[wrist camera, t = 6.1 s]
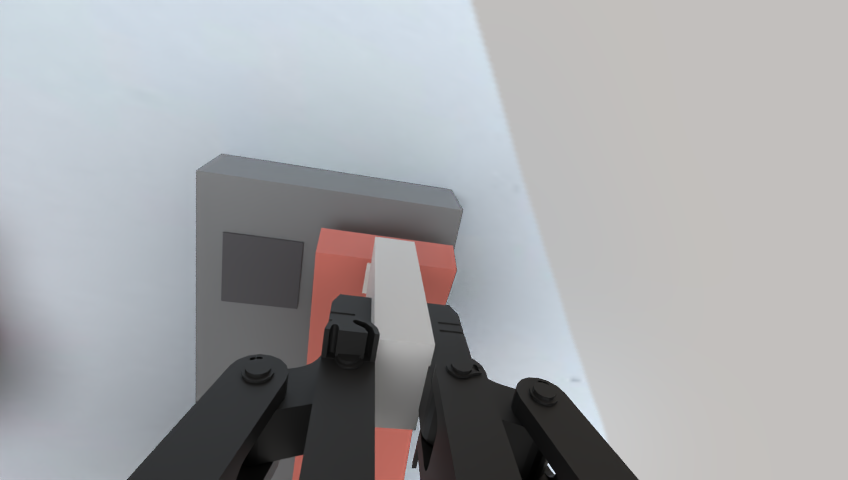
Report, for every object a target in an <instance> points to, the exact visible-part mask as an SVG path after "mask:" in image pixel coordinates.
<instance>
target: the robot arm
mask: <svg viewBox="0 0 848 480" xmlns="http://www.w3.org/2000/svg"><path fill="white" fill-rule="evenodd" d="M418 417H419V419H420V433H419V437H418V441H417V445H416V450H415V454H414V458H413V463H412V468H416V466H417V462H418V461H419V471H420V480H638V479H637V477H636V476H635V475H634V474H633V472H632V471H631V470H630V469H629V468H628V467H627V466H626V465H625V463H624V462H623V461H622V460H621V458H620V457H619V456H618V455H617V454H616V453H615V451H614V450H613V449H612V448H611V447H610V446H609V444H608V443H607V442H606V441H605V440H604V439H603V437H602V436H601V435H600V434H599V433H598V431H597V430H596V429H595V428H594V427H593V426H592V424H591V423H590V422H589V421H588V420H587V419H586V417H585V416H584V415H583V414H582V413H581V412H580V410H579V409H578V408H577V407H576V406H575V405H574V403H573V402H572V401H571V400H570V399H569V397H568V396H567V395H566V394H565V393H564V392H563V391H562V390H561V389H560V388H559V387H557V386H556V385H554V384H552V383H550V382H549V381H546V380H543V379H540V378H530V377H529V378H525V379H522V380H521V381H520V382H519V383H518V384H517V387H516V389H514V388H510V387H507V386H504V385H501V384H498V383H496V382H493V381H491V380H489V379H488V378H487V375H486V372H485V370H484V369H483V367H482V366H481V365H480V364H479V363H478V362H476V361H475V360H473V359H471V355H470V352H469V349H468V346H467V342H466V339H465V336H464V334H463V330H462V326H461V323H460V320H459V317H458V314H457V313H456V312H455V311H454V310H453V309H452V308H451V307H450V306H449V305H440V304H432V303H427V302H426V297H425V292H424V287H423V282H422V277H421V272H420V267H419V262H418V257H417V252H416V247H415V242H411V241H404V240H397V239H389V238H382V237H375V241H374V248H373V254H372V260H371V267H370V273H369V279H368V286H367V292H366V297H361V296H352V295H343V294H340V295H339V296H338V297H337V298H336V299H334V300H333V301H332V305H331V310H330V316H329V321H328V323H327V325H326V327H325V329H324V336H323V344H322V352H321V356H320V357H319V358H318V359H317V360H315V361H314V362H312V363H310V364H308V365H305V366H301V367H297V368H289V369H287V365H286V364H285V363H284V362H283V361H282V360H281V359H279V358H276V357H274V356H271V355H263V354H257V355H248V356H246V357H243V358H240V359H238V360H236V361H235V362H234V363H232V364H231V365H230V366H229V367H228V368H227V369H226V370H225V371H224V372H223V374H222V375H221V376H220V377H219V378H218V379H217V380H216V381H215V382H214V384H213V385H212V386H211V387H210V388H209V389H208V390H207V391H206V392H205V394H204V395H203V396H202V397H201V398H200V399H199V400H198V401H197V402H196V404H195V405H194V406H193V407H192V408H191V409H190V410H189V411H188V412H187V414H186V415H185V416H184V417H183V418H182V419H181V420H180V421H179V422H178V424H177V425H176V426H175V427H174V428H173V429H172V430H171V431H170V432H169V434H168V435H167V436H166V437H165V438H164V439H163V440H162V441H161V442H160V444H159V445H158V446H157V447H156V448H155V449H154V450H153V451H152V452H151V454H150V455H149V456H148V457H147V458H146V459H145V460H144V461H143V462H142V464H141V465H140V466H139V467H138V468H137V469H136V470H135V471H134V472H133V474H132V475H131V476H130V477H129V478H128V479H127V480H271V478H272V477H273V475H274V473H275V471H276V469H277V467H278V465H279V461H280V460H282V459H286V458H291V457H295V456H300V455H303V460H302V465H301V471H300V476H299V480H375V427H379V428H393V429H408V430H416V426H417V421H418ZM548 463H549V464H550V466H551V467H552V469H553V470H554V472H555V473H556V474H555V475H554V474H553V472H552V471H551V470H550V469H549V467H548V466H547V464H548Z"/></svg>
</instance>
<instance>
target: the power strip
mask: <svg viewBox="0 0 848 480" xmlns="http://www.w3.org/2000/svg"><path fill="white" fill-rule="evenodd" d="M462 212H463V209H462V207H461V206H460V204H459V202H458V200H457V199H456V197H455V195H454V193H453V191H452V190H450V189H444V188H437V187H431V186H425V185H418V184H412V183H405V182H399V181H393V180H386V179H380V178H373V177H367V176H360V175H354V174H348V173H341V172H335V171H328V170H322V169H316V168H309V167H303V166H296V165H290V164H284V163H277V162H271V161H264V160H258V159H252V158H245V157H239V156H232V155H226V154H221V155H219V156H218V157H216V158H214V159H213V160H211V161H210V162H208V163H207V164H205V165H204V166H202V167H201V168H199V169H198V170H196V402H197V401H198V400H199V399H200V398H201V397H202V396H203V395H204V394H205V392H206V391H207V390H208V389H209V388H210V387H211V386H212V385H213V384H214V382H215V381H216V380H217V379H218V378H219V377H220V376H221V375H222V374H223V372H224V371H225V370H226V369H227V368H228V367H229V366H230V365H231V364H232V363H234V362H235V361H236V360H238V359H240V358H243V357H246V356H248V355H257V354H263V355H271V356H274V357H276V358H279V359H281V360H282V361H283V362H284V363H285V364H286V365H287V369H289V368H297V367H301V366H305V365H307V354H308V341H309V329H310V317H311V305H312V292H313V280H314V268H315V255H316V249H317V244H318V240H319V236H320V231H321V228H327V229H334V230H341V231H349V232H356V233H363V234H371V235H378V236H386V237H393V238H400V239H408V240H415V241H422V242H430V243H437V244H445V245H452V246H453V249H454V247H455V243H456V239H457V234H458V230H459V225H460V221H461V217H462ZM294 462H295V457H291V458H286V459H282V460H280V461H279V465H278V467H277V469H276V471H275V473H274V475H273V477H272V478H271V480H292V478H293V470H294Z"/></svg>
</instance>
